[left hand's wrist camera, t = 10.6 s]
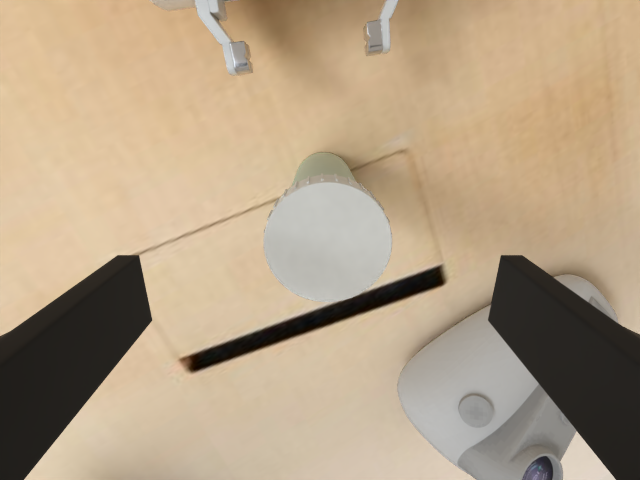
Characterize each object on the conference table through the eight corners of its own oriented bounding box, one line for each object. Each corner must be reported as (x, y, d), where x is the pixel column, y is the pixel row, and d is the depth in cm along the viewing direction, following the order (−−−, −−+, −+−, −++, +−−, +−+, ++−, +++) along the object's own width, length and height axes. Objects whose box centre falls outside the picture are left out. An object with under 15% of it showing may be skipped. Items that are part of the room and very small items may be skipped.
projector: (567, 422, 44) (680, 563, 30) (389, 429, 44) (420, 572, 30) (608, 266, 36) (787, 360, 22) (392, 277, 36) (436, 376, 23)
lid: (318, 303, 20) (318, 325, 18) (243, 224, 19) (234, 237, 17) (408, 240, 19) (419, 255, 17) (336, 146, 17) (339, 151, 15)
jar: (319, 218, 34) (320, 308, 18) (284, 176, 33) (251, 235, 17) (362, 184, 33) (402, 250, 17) (327, 140, 32) (336, 166, 16)
